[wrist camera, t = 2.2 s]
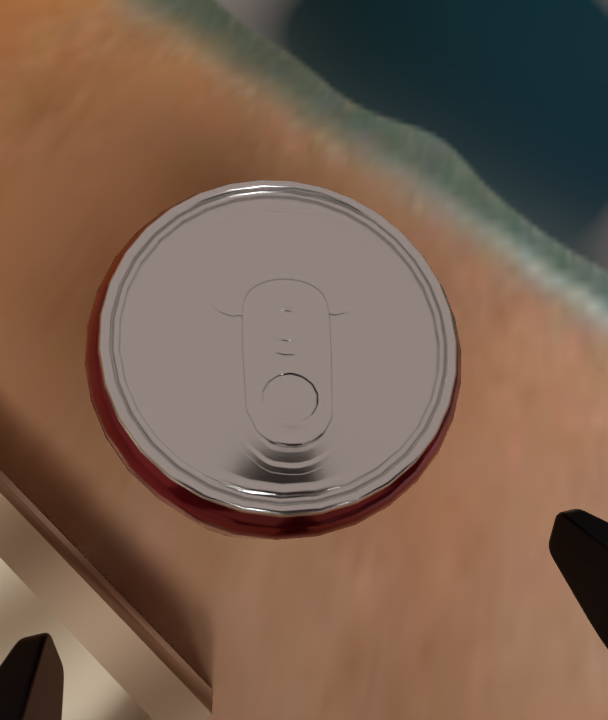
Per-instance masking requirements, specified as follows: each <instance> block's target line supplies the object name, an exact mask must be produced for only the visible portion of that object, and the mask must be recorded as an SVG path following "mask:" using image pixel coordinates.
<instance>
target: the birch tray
mask: <svg viewBox="0 0 608 720" xmlns="http://www.w3.org/2000/svg"><path fill="white" fill-rule="evenodd" d="M41 633H49V634H50V635H51V637H52V639H53V642H54V644H55V647H56V649H57V652H58V654H59V657H60V659H61V662H62V665H63V670H64V688H63V705H62V720H207V719H208V718H209V716H210V715H211V714H212V697H213V690H212V689H211V688H210V687H209V686H208V685H207V683H206V682H205V681H204V680H203V679H202V678H201V677H200V676H199V675H198V674H197V673H196V672H195V671H194V670H193V669H192V668H191V667H190V666H189V665H188V664H187V663H186V662H185V661H184V660H183V659H182V658H181V657H180V655H179V654H178V653H177V652H176V651H175V650H174V649H173V648H172V647H171V646H170V645H169V644H168V643H167V642H166V641H165V640H164V639H163V638H162V637H161V636H160V635H159V634H158V633H157V632H156V631H155V630H154V629H153V627H152V626H151V625H150V624H149V623H148V622H147V621H146V620H145V619H144V618H143V617H142V616H141V615H140V614H139V613H138V612H137V611H136V610H135V609H134V608H133V607H132V606H131V605H130V604H129V603H128V602H127V601H126V600H125V598H124V597H123V596H122V595H121V594H120V593H119V592H118V591H117V590H116V589H115V588H114V587H113V586H112V585H111V584H110V583H109V582H108V581H107V580H106V579H105V578H104V577H103V576H102V575H101V574H100V573H99V572H98V570H97V569H96V568H95V567H94V566H93V565H92V564H91V563H90V562H89V561H88V560H87V559H86V558H85V557H84V556H83V555H82V554H81V553H80V552H79V551H78V550H77V549H76V548H75V547H74V546H73V545H72V544H71V543H70V541H69V540H68V539H67V538H66V537H65V536H64V535H63V534H62V533H61V532H60V531H59V530H58V529H57V528H56V527H55V526H54V525H53V524H52V523H51V522H50V521H49V520H48V519H47V518H46V517H45V516H44V515H43V513H42V512H41V511H40V510H39V509H38V508H37V507H36V506H35V505H34V504H33V503H32V502H31V501H30V500H29V499H28V498H27V497H26V496H25V495H24V494H23V493H22V492H21V491H20V490H19V489H18V488H17V487H16V486H15V484H14V483H13V482H12V481H11V480H10V479H9V478H8V477H7V476H6V475H5V474H4V473H3V472H2V471H1V470H0V665H1V664H2V662H3V661H4V659H5V658H6V657H7V655H8V654H9V652H10V651H11V649H12V648H13V646H14V645H15V644H16V643H17V642H18V641H19V640H20V639H22V638H24V637H28V636H32V635H36V634H41Z"/></svg>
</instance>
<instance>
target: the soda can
mask: <svg viewBox="0 0 608 720" xmlns="http://www.w3.org/2000/svg"><path fill="white" fill-rule="evenodd" d="M85 367H86V373H87V379H88V385H89V391H90V397H91V402H92V404H93V407H94V409H95V412H96V414H97V417H98V419H99V422H100V424H101V427H102V429H103V432H104V434H105V437H106V438H107V440H108V441H109V443H110V444H111V446H112V447H113V449H114V450H115V451H116V453H117V454H118V456H119V457H120V459H121V460H122V462H123V463H124V464H125V466H126V467H127V469H128V470H129V471H130V472H131V473H132V474H133V475H134V476H135V477H136V478H137V479H138V480H139V481H140V482H141V483H142V484H144V485H145V486H146V487H147V488H148V489H149V490H150V491H151V492H152V493H153V494H154V495H155V496H156V497H157V498H158V499H160V500H161V501H163V502H164V503H166V504H167V505H169V506H171V507H172V508H174V509H175V510H177V511H178V512H180V513H181V514H183V515H185V516H186V517H188V518H189V519H191V520H192V521H194V522H196V523H197V524H199V525H201V526H202V527H204V528H206V529H207V530H210V531H213V532H216V533H219V534H222V535H225V536H231V537H239V538H250V539H273V540H279V539H290V538H302V537H313V536H320V535H323V534H326V533H330V532H333V531H336V530H339V529H343V528H346V527H349V526H352V525H356V524H358V523H359V522H361V521H363V520H365V519H366V518H368V517H370V516H372V515H374V514H375V513H377V512H379V511H381V510H383V509H384V508H386V507H388V506H390V505H391V504H392V503H393V502H394V501H395V500H396V499H398V498H399V497H400V496H401V495H402V494H403V493H404V492H405V491H407V490H408V489H409V488H410V487H411V486H412V485H413V484H415V483H416V482H417V481H418V479H419V478H420V477H421V475H422V474H423V473H424V471H425V470H426V468H427V467H428V466H429V464H430V463H431V462H432V460H433V459H434V458H435V456H436V455H437V453H438V452H439V450H440V448H441V445H442V443H443V441H444V439H445V436H446V434H447V432H448V430H449V427H450V425H451V423H452V421H453V416H454V412H455V407H456V402H457V398H458V393H459V388H460V384H461V349H460V343H459V338H458V333H457V327H456V322H455V318H454V315H453V313H452V310H451V307H450V305H449V302H448V300H447V297H446V295H445V292H444V290H443V288H442V286H441V284H440V283H439V281H438V279H437V278H436V276H435V274H434V273H433V271H432V270H431V268H430V266H429V265H428V263H427V261H426V260H425V258H424V257H423V256H422V255H421V253H420V252H419V251H418V250H417V249H416V248H415V247H414V245H413V244H412V243H411V242H410V241H409V240H408V239H407V238H406V236H405V235H404V234H403V233H402V232H400V231H399V230H398V229H397V228H396V227H394V226H393V225H392V224H391V223H389V222H388V221H387V220H386V219H384V218H383V217H382V216H381V215H380V214H378V213H376V212H375V211H373V210H371V209H370V208H368V207H366V206H364V205H363V204H361V203H359V202H357V201H356V200H354V199H352V198H350V197H347V196H344V195H342V194H339V193H336V192H334V191H331V190H328V189H326V188H323V187H318V186H313V185H308V184H304V183H299V182H294V181H273V180H257V181H249V182H241V183H234V184H228V185H224V186H221V187H218V188H215V189H212V190H208V191H205V192H202V193H199V194H196V195H193V196H191V197H189V198H187V199H185V200H183V201H181V202H180V203H178V204H176V205H174V206H172V207H170V208H168V209H166V210H164V211H163V212H161V213H160V214H159V215H158V216H156V217H155V218H154V219H153V220H151V221H150V222H149V223H148V224H146V225H145V226H144V227H143V228H141V229H140V230H139V231H138V232H137V233H136V234H135V235H134V236H133V237H132V238H131V240H130V241H129V242H128V243H127V244H126V246H125V247H124V248H123V249H122V250H121V252H120V253H119V254H118V255H117V256H116V257H115V259H114V261H113V263H112V265H111V266H110V268H109V270H108V272H107V274H106V276H105V278H104V279H103V281H102V283H101V285H100V287H99V289H98V291H97V294H96V297H95V301H94V304H93V308H92V311H91V315H90V318H89V322H88V325H87V337H86V354H85Z"/></svg>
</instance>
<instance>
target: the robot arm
mask: <svg viewBox="0 0 608 720" xmlns="http://www.w3.org/2000/svg"><path fill="white" fill-rule="evenodd" d="M549 550H550V553H551V555H552V558H553V559H554V561H555V563H556V565H557V566H558V568H559V570H560V571H561V573H562V575H563V577H564V578H565V580H566V582H567V583H568V585H569V587H570V589H571V590H572V592H573V594H574V595H575V597H576V599H577V601H578V602H579V604H580V606H581V607H582V609H583V611H584V613H585V614H586V616H587V618H588V619H589V621H590V623H591V624H592V626H593V628H594V629H595V631H596V632H597V634H598V635H599V637H600V638H601V640H602V641H603V643H604V644H605V646H606V647H607V649H608V522H606V521H604V520H602V519H600V518H598V517H596V516H594V515H592V514H590V513H587V512H585V511H583V510H580V509H573V510H568V511H564V512H560V513H559V514H558V515H557V516H556V518H555V522H554V525H553V529H552V533H551V536H550V540H549ZM63 688H64V670H63V665H62V662H61V659H60V657H59V654H58V652H57V649H56V647H55V644H54V642H53V639H52V637H51V635H50V634H49V633H41V634H36V635H32V636H28V637H24V638H22V639H20V640H19V641H18V642H17V643H16V644H15V645H14V646H13V648H12V649H11V651H10V652H9V654H8V655H7V657H6V658H5V659H4V661H3V662H2V664H1V665H0V720H62V705H63Z"/></svg>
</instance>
